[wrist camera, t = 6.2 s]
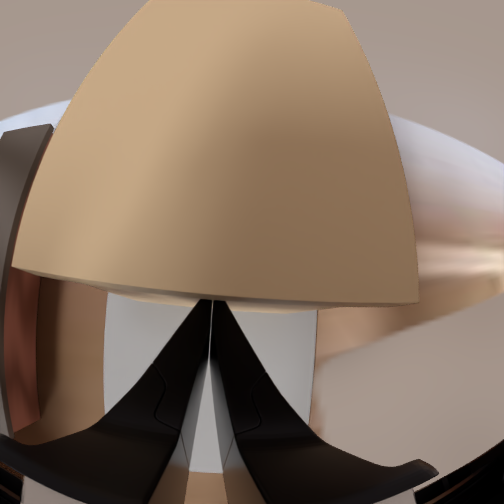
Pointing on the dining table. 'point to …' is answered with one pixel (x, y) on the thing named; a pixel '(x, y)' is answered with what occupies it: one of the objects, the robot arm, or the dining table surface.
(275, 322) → the board
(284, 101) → the kraft carton
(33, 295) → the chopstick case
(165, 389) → the robot arm
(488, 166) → the dining table surface
